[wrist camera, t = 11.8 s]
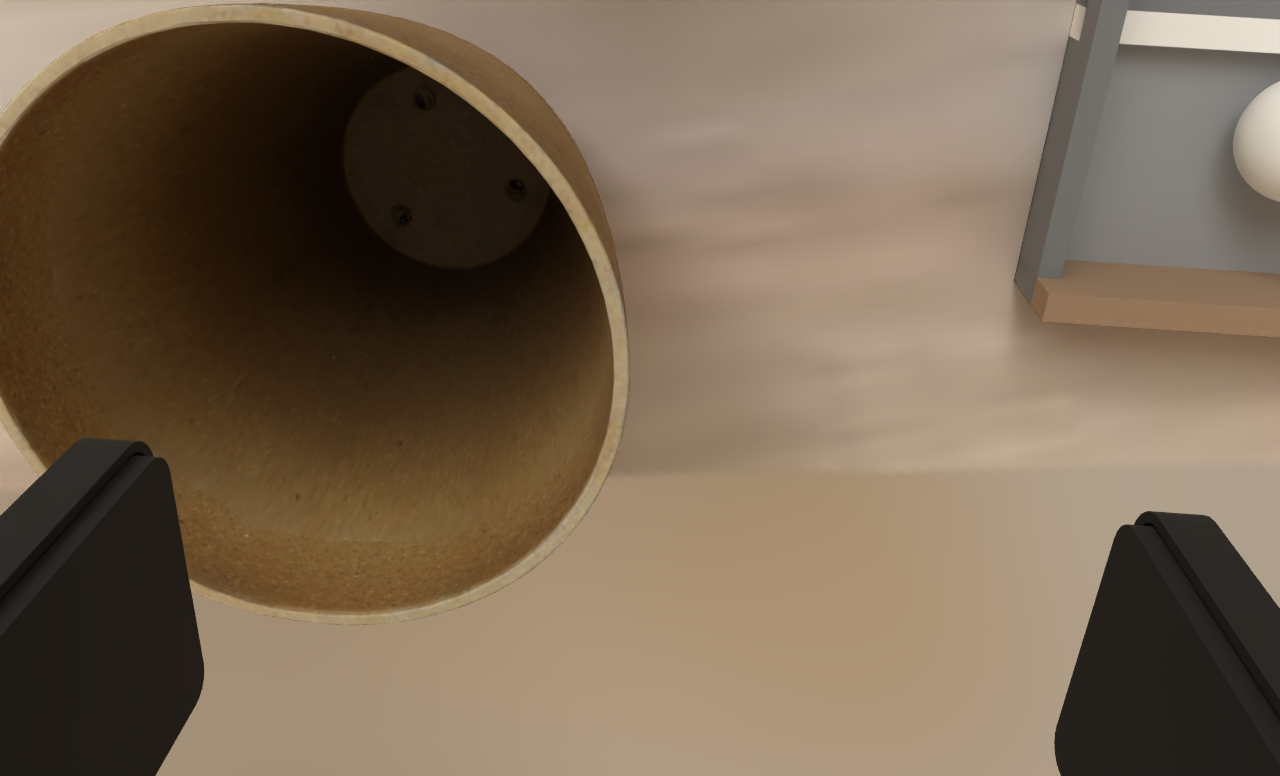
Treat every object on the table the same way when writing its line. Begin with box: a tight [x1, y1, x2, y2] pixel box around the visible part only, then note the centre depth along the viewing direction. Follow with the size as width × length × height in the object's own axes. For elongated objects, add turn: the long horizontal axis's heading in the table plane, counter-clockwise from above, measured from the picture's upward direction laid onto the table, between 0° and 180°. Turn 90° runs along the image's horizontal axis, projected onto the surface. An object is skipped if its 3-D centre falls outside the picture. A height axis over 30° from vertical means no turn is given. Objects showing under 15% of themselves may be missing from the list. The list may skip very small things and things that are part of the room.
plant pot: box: [0, 3, 630, 625], centre depth 31 cm, size 15×15×16 cm
